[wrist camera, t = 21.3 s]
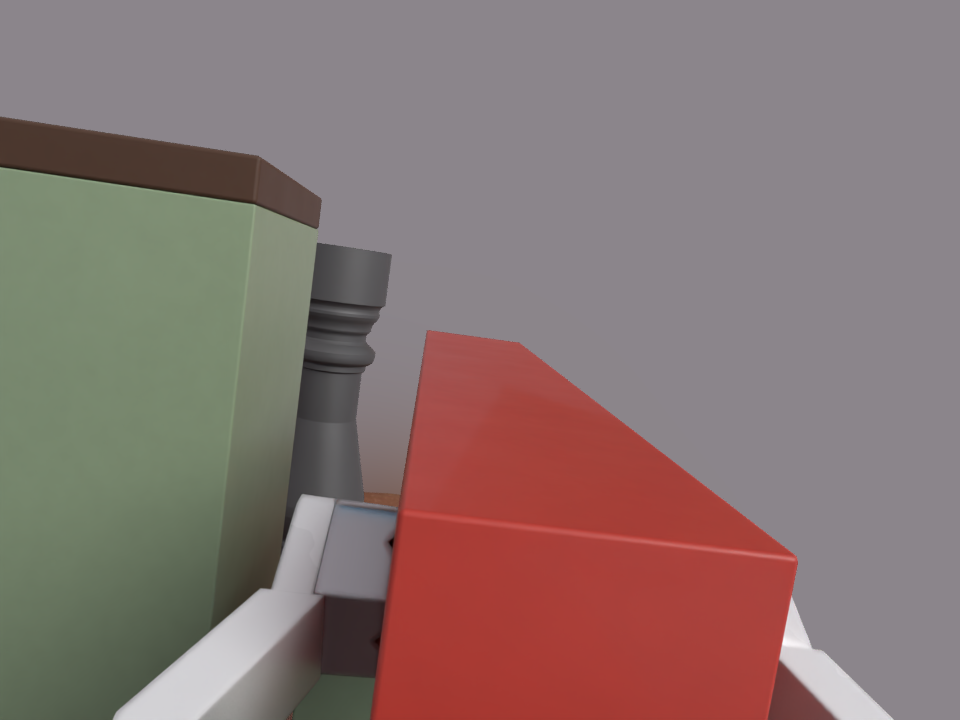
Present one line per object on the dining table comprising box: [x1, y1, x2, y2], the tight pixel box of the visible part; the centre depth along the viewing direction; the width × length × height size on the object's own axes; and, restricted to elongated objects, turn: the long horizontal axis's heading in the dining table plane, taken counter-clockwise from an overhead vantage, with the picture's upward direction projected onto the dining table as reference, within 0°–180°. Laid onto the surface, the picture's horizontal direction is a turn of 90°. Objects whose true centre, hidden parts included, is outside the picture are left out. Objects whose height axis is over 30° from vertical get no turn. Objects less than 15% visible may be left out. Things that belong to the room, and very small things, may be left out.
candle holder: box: [280, 243, 392, 557], centre depth 45 cm, size 6×6×25 cm
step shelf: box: [0, 117, 375, 720], centre depth 20 cm, size 10×20×26 cm, turn 93°
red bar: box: [370, 330, 798, 720], centre depth 19 cm, size 24×4×4 cm, turn 3°
